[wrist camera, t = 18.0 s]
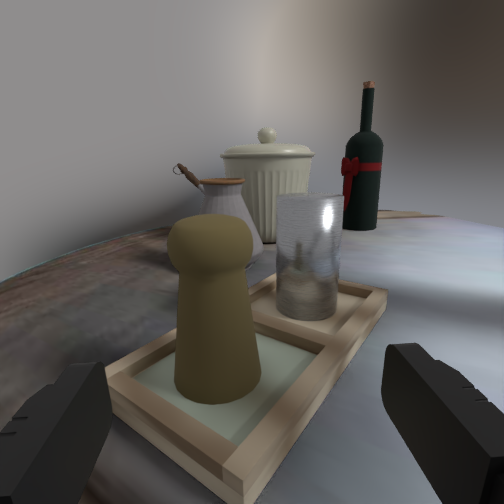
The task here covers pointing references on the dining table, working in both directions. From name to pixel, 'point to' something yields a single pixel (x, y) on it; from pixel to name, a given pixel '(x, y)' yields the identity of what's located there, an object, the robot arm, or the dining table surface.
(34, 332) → the dining table surface
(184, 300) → the olive brown pepper mill
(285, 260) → the clear glass tumbler
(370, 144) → the wine bottle
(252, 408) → the wooden tray
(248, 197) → the canister
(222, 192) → the coffee pot
